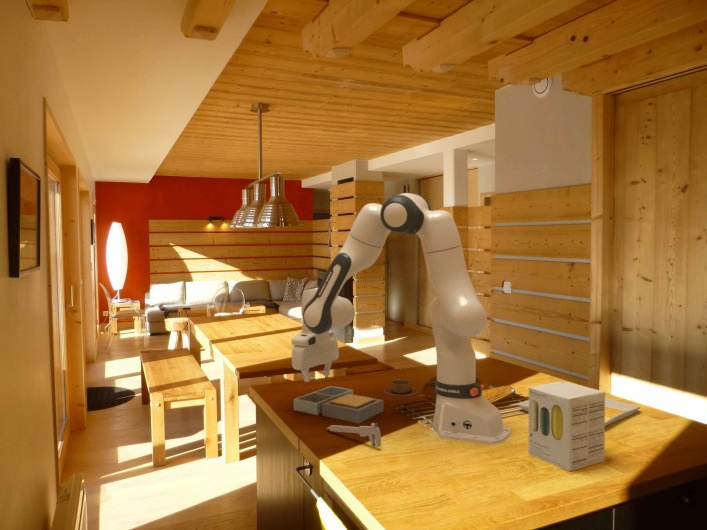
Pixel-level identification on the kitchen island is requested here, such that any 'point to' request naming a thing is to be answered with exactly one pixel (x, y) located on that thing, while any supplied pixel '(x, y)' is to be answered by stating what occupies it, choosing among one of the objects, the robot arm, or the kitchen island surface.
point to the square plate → (609, 403)
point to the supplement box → (566, 424)
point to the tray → (318, 399)
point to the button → (353, 401)
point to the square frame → (352, 411)
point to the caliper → (361, 432)
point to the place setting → (400, 387)
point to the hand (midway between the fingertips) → (317, 378)
